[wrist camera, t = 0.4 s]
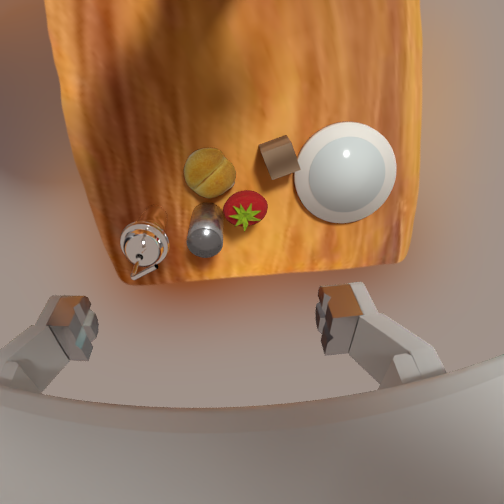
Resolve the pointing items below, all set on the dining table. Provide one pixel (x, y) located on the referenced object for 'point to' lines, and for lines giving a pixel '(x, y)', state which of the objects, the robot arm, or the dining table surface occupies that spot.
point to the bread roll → (209, 172)
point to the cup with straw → (146, 240)
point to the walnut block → (279, 157)
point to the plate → (345, 172)
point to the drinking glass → (206, 230)
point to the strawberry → (245, 208)
